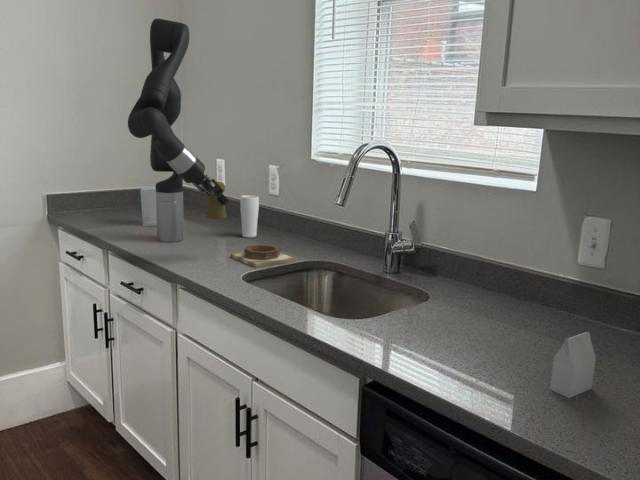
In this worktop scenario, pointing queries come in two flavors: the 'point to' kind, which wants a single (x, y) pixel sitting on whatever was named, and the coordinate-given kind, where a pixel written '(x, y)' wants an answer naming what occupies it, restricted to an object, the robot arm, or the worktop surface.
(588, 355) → the milk carton
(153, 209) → the skincare box
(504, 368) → the worktop surface
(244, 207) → the drinking glass
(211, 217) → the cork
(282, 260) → the board
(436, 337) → the worktop surface
